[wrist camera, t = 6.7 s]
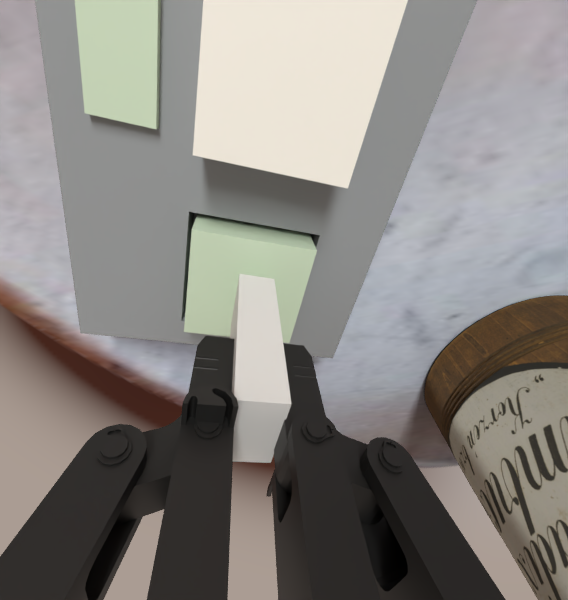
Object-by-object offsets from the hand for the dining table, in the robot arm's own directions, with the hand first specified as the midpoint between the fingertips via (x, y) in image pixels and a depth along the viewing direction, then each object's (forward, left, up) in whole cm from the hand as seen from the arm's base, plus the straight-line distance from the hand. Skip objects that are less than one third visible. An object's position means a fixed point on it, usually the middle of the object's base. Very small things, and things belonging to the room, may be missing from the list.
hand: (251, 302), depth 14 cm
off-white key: (-8, 0, -3) cm, 9 cm away
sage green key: (0, 0, -4) cm, 4 cm away
